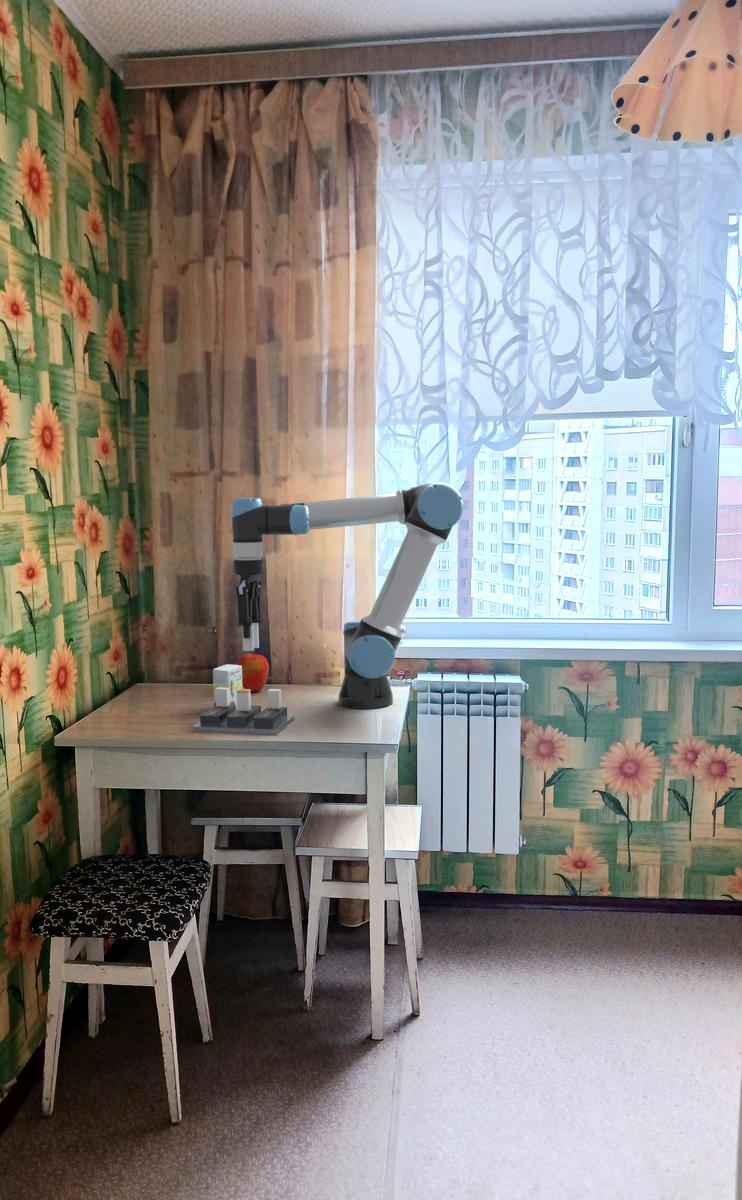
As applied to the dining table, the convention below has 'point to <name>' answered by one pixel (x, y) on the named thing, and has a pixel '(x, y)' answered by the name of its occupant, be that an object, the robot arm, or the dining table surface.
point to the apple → (254, 671)
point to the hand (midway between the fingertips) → (250, 648)
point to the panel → (245, 729)
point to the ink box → (228, 680)
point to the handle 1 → (222, 696)
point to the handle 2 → (274, 698)
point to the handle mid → (244, 699)
